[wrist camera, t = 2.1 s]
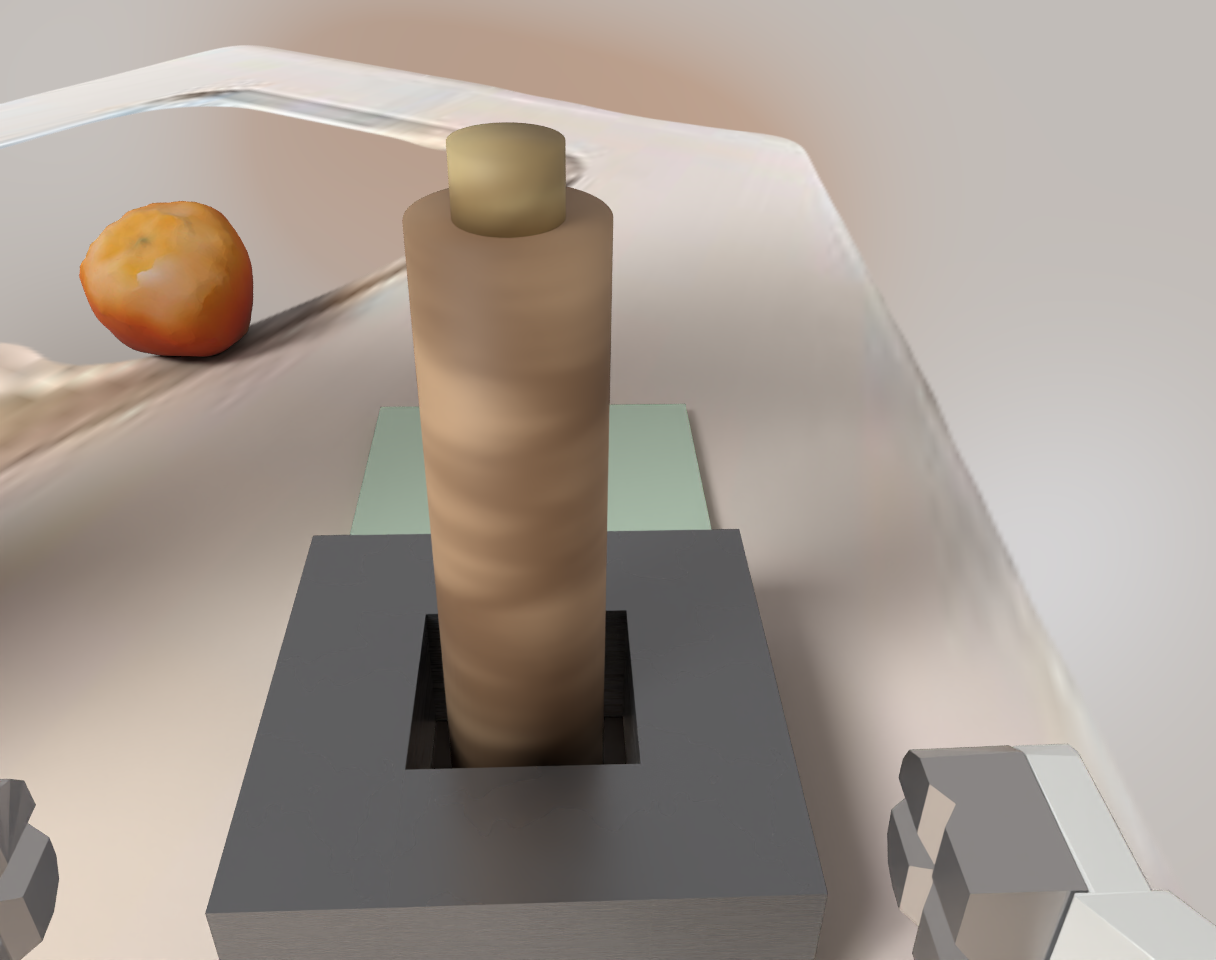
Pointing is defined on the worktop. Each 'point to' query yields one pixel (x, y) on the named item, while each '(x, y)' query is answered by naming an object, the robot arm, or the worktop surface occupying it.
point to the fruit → (171, 280)
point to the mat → (637, 473)
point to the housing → (521, 783)
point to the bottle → (515, 442)
